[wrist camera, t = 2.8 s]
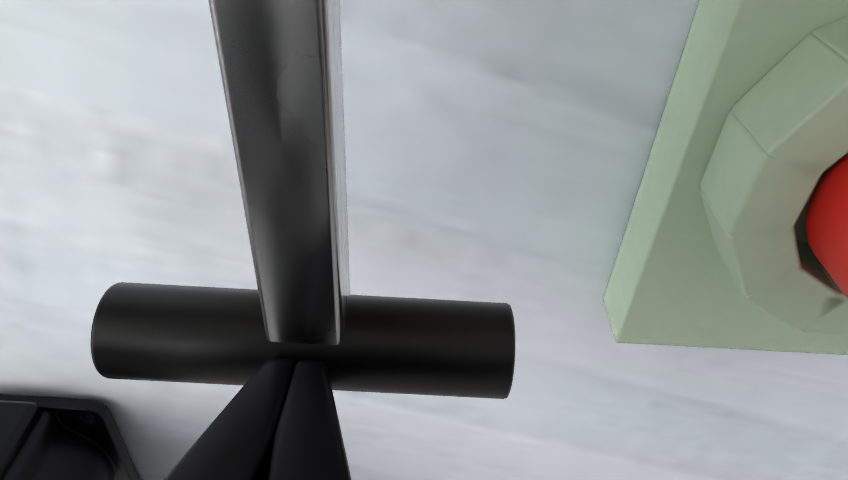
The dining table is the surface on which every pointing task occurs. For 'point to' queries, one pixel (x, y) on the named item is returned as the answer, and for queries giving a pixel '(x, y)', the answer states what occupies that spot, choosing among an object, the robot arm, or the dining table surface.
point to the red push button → (831, 223)
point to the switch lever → (297, 245)
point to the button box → (740, 186)
